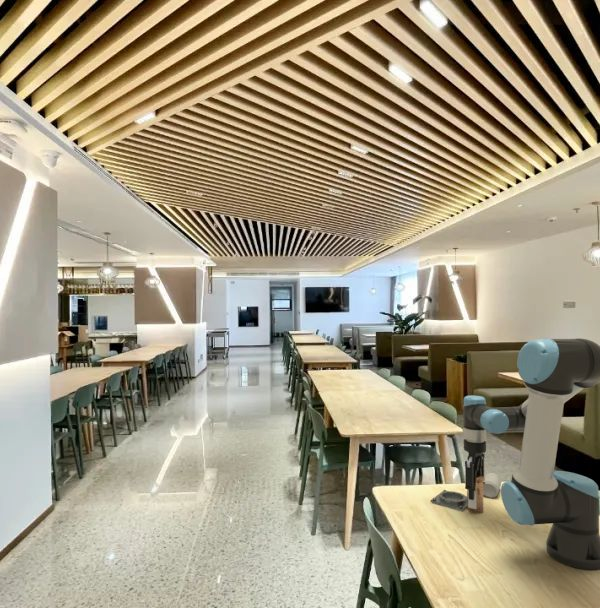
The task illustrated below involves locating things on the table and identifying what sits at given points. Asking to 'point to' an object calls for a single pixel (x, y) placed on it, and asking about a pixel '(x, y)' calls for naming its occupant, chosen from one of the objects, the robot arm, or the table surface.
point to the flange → (451, 500)
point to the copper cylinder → (478, 495)
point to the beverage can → (491, 485)
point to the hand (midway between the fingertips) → (475, 505)
